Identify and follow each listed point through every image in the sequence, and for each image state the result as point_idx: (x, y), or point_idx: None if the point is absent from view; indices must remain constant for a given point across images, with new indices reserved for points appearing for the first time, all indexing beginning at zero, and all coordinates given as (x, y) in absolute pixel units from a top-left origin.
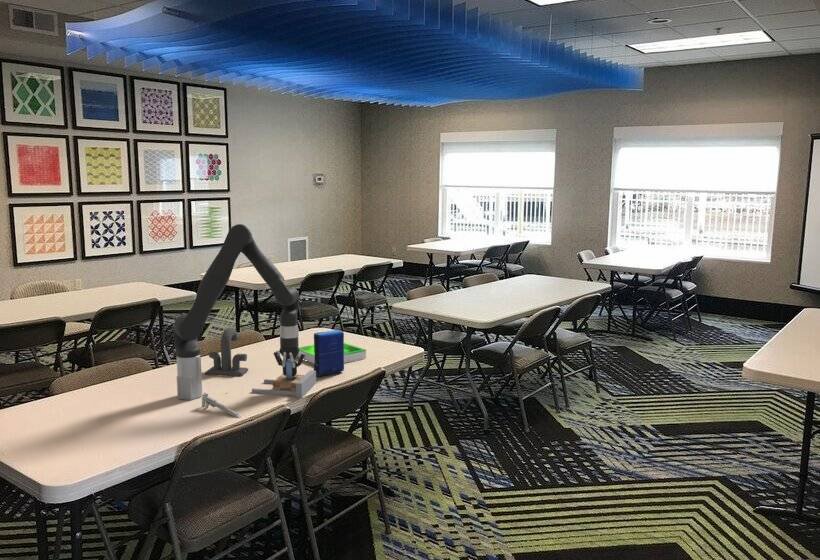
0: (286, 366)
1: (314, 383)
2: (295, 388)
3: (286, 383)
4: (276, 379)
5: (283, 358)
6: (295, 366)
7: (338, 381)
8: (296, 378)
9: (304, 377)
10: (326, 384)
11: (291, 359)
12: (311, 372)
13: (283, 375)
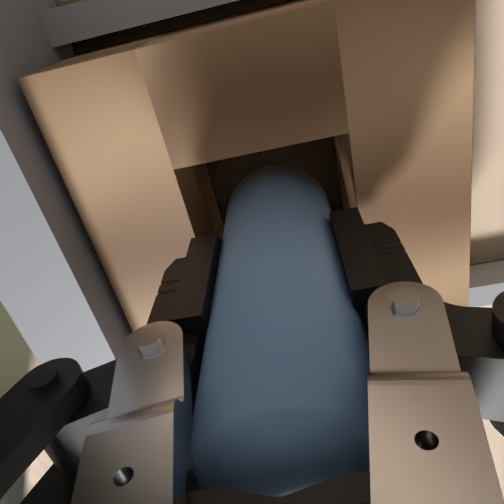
0: (327, 304)
1: None
2: (91, 55)
3: (214, 30)
4: (455, 107)
5: (470, 469)
6: (126, 358)
7: (42, 456)
8: None
9: (32, 259)
10: None
11: (145, 487)
12: None
13: None
